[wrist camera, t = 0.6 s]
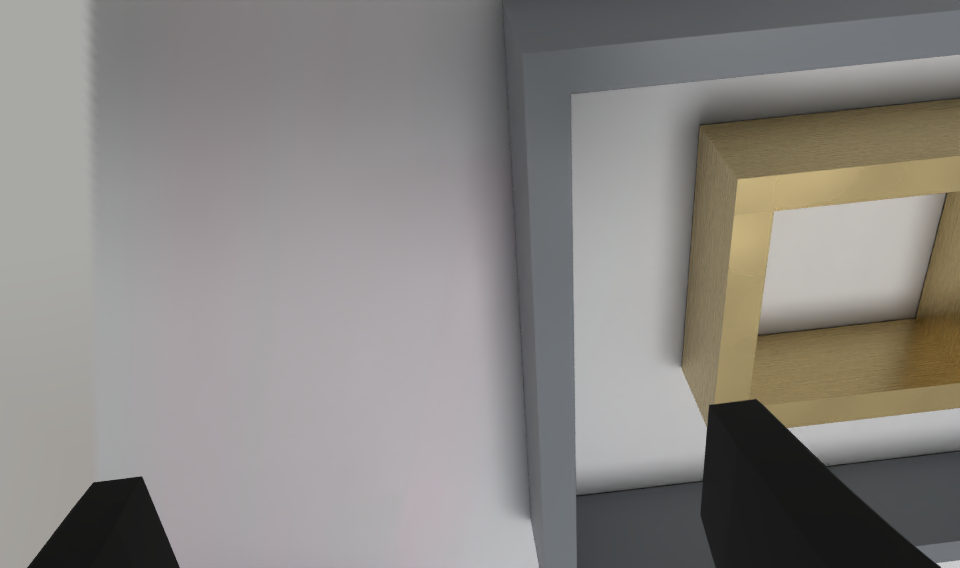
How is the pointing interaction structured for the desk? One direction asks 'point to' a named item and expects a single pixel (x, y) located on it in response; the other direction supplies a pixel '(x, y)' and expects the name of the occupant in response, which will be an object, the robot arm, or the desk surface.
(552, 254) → the walled box
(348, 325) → the desk surface
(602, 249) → the desk surface
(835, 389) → the frame
